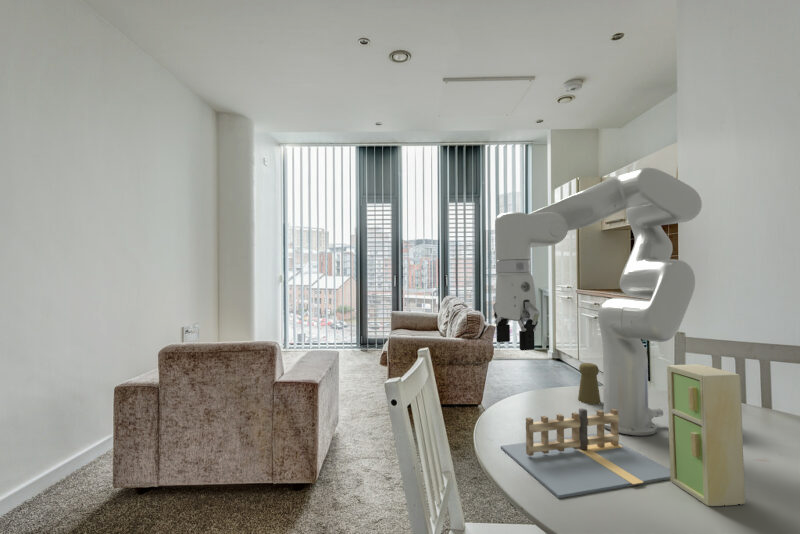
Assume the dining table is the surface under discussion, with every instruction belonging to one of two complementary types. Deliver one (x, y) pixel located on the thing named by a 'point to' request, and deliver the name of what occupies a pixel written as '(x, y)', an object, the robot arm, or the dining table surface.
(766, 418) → the dining table surface
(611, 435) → the fence fixed
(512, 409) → the dining table surface
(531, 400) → the dining table surface
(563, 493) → the card
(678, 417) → the toy refrigerator
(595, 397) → the cork
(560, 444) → the fence gate
